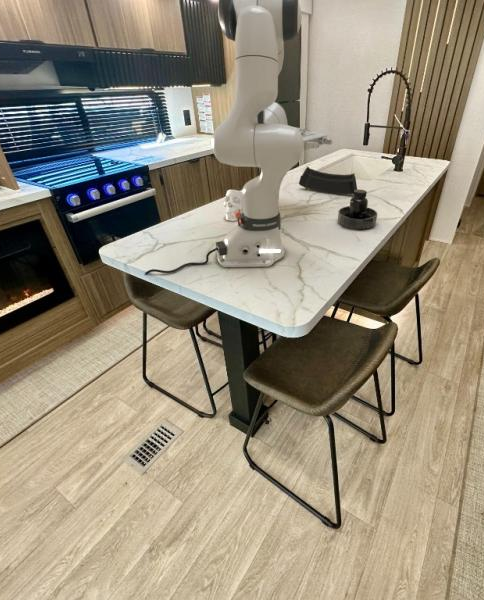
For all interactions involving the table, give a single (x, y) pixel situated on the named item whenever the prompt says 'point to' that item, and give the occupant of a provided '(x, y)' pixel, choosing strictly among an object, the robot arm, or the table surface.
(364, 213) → the supplement bottle
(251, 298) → the table surface
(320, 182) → the magazine
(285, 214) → the table surface
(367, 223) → the bowl
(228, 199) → the skull bowl
